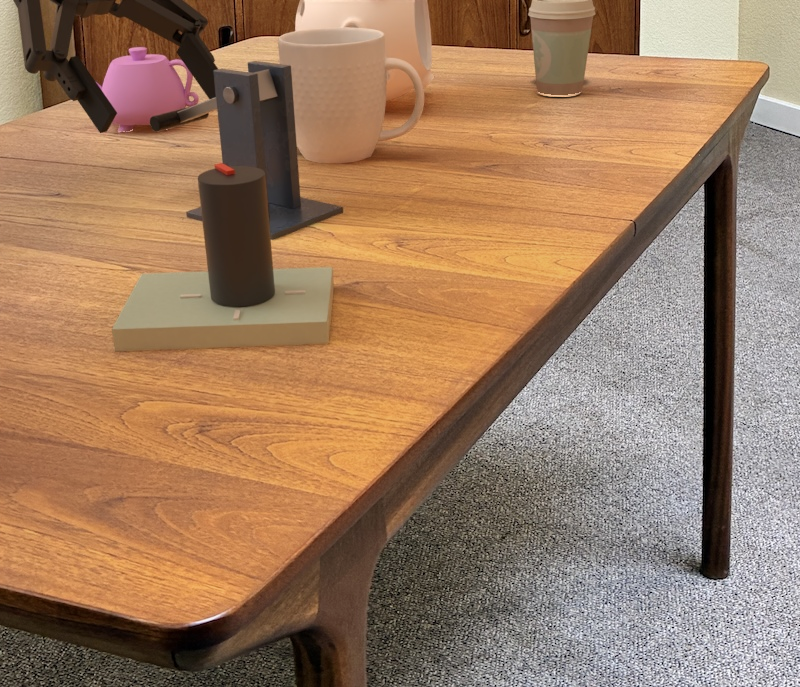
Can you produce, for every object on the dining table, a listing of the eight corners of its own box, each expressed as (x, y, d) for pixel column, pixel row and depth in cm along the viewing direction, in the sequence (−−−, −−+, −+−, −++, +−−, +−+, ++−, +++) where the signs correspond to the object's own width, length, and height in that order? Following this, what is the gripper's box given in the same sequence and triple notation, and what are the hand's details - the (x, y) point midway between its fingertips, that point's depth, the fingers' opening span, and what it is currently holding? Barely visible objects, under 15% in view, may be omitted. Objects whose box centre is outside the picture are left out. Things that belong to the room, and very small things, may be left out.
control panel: (117, 370, 73) (110, 326, 72) (146, 311, 82) (141, 271, 81) (329, 362, 73) (326, 318, 72) (335, 304, 82) (332, 264, 81)
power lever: (154, 138, 101) (145, 113, 101) (203, 125, 106) (195, 100, 105) (243, 105, 92) (234, 77, 92) (293, 92, 97) (284, 65, 96)
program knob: (285, 297, 76) (275, 172, 72) (226, 312, 73) (212, 184, 70) (258, 278, 79) (248, 157, 75) (201, 291, 77) (187, 168, 73)
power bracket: (187, 224, 100) (169, 70, 94) (258, 199, 107) (245, 53, 101) (273, 247, 94) (259, 84, 88) (343, 219, 100) (335, 65, 94)
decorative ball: (320, 90, 151) (310, -62, 143) (444, 90, 149) (442, -65, 140) (283, 125, 133) (270, -46, 125) (424, 126, 131) (420, -49, 123)
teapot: (196, 133, 131) (187, 53, 127) (68, 138, 131) (56, 58, 127) (206, 113, 140) (198, 38, 137) (87, 118, 140) (75, 43, 136)
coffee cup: (532, 85, 150) (534, -7, 145) (596, 87, 147) (600, -7, 142) (521, 99, 142) (522, 2, 137) (588, 101, 140) (592, 3, 135)
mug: (423, 144, 123) (420, 23, 118) (427, 171, 113) (425, 41, 108) (289, 148, 123) (281, 28, 118) (282, 176, 113) (272, 46, 108)
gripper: (-66, -86, 94) (69, 109, 92) (161, -105, 112) (279, 59, 110) (-85, -24, 100) (42, 162, 97) (134, -51, 117) (246, 106, 115)
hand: (167, 108), depth 103 cm, fingers open, 13 cm apart
